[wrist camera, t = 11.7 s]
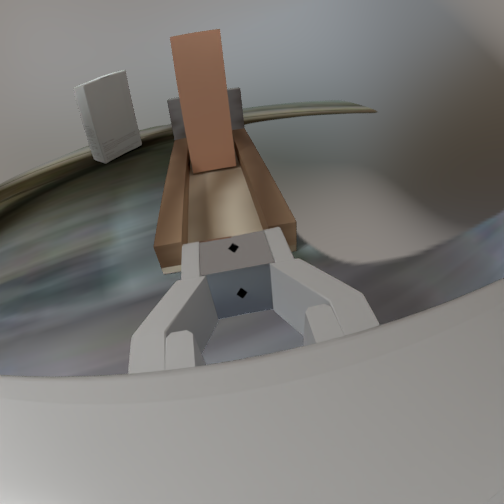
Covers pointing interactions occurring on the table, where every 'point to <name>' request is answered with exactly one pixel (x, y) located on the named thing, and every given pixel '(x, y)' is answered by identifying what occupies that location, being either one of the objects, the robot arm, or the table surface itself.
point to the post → (204, 99)
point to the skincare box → (108, 116)
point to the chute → (217, 194)
